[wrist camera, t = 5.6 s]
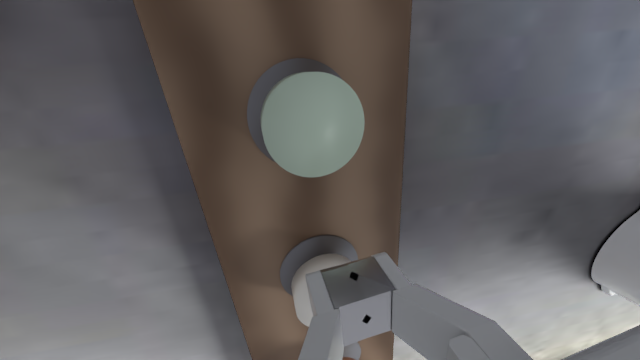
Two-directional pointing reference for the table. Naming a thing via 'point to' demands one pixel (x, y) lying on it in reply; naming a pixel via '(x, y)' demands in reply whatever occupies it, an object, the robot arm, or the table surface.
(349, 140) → the button sage
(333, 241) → the button panel
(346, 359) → the button terracotta
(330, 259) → the button cream
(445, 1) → the table surface
